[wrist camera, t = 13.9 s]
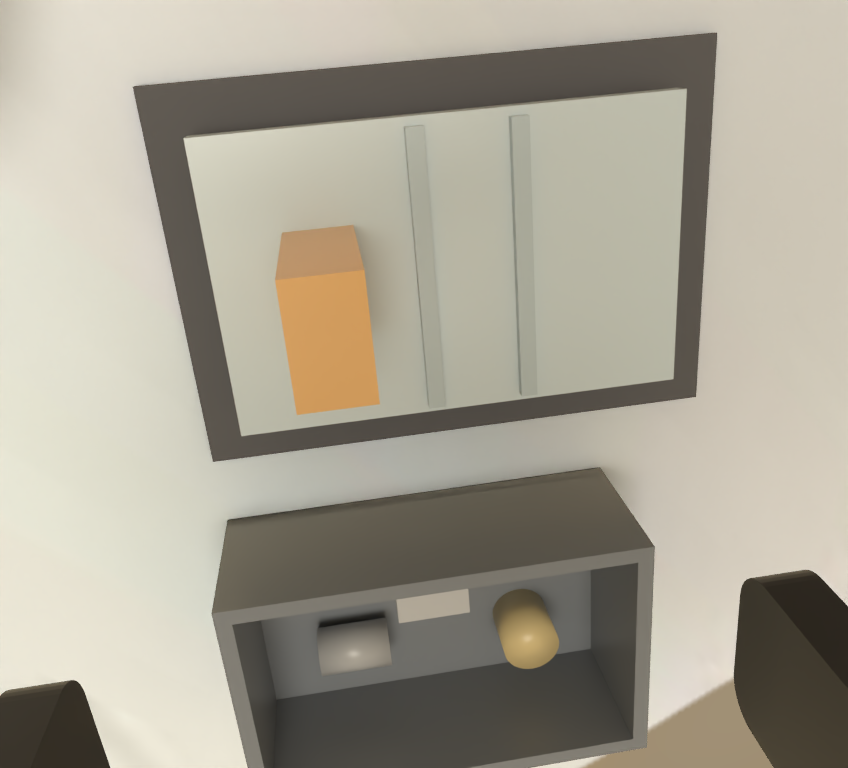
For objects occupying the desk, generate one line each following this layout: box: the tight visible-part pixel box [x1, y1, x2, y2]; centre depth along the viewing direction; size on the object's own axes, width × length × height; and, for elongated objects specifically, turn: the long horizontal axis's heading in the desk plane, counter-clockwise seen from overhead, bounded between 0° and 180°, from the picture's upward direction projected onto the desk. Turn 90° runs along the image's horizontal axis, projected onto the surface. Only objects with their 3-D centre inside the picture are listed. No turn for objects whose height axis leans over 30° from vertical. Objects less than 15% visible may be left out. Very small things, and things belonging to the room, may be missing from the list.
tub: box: [212, 468, 655, 768], centre depth 33 cm, size 16×10×6 cm, turn 95°
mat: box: [133, 33, 717, 462], centre depth 30 cm, size 20×14×1 cm
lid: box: [183, 88, 687, 436], centre depth 26 cm, size 17×11×8 cm, turn 95°
